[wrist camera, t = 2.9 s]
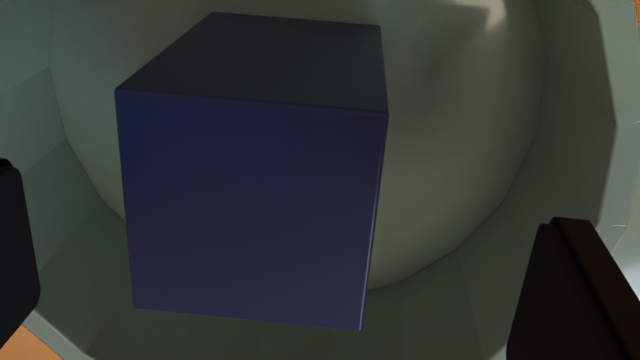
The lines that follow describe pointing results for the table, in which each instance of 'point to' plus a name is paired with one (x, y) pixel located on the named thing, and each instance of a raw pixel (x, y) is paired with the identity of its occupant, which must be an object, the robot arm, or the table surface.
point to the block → (255, 170)
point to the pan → (397, 174)
